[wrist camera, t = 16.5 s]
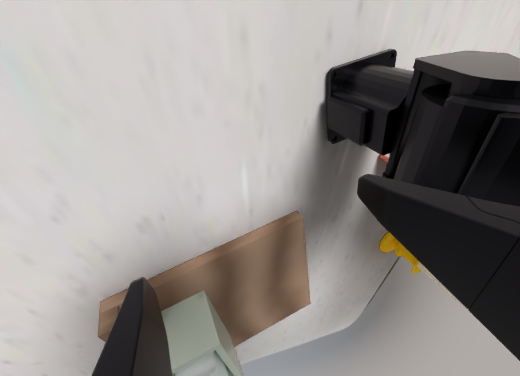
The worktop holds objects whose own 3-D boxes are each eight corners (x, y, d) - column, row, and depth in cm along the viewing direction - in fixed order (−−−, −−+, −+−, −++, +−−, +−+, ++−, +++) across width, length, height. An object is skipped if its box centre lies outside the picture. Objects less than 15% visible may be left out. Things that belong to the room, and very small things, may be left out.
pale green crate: (203, 290, 26) (220, 343, 22) (229, 335, 33) (246, 382, 28) (143, 320, 24) (149, 383, 20) (184, 360, 31) (194, 413, 27)
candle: (375, 254, 41) (478, 352, 29) (384, 230, 38) (503, 328, 26) (399, 244, 43) (505, 333, 31) (410, 220, 40) (531, 309, 28)
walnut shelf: (296, 210, 27) (314, 230, 25) (306, 296, 38) (318, 315, 36) (99, 301, 23) (97, 336, 20) (175, 369, 34) (180, 396, 31)
